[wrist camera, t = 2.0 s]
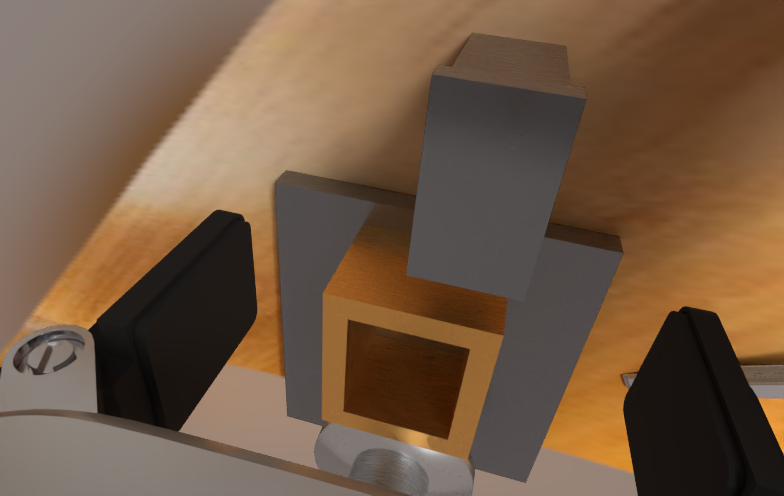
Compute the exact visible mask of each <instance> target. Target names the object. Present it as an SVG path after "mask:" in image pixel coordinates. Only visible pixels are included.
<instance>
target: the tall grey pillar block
mask: <svg viewBox="0 0 784 496" xmlns="http://www.w3.org/2000/svg"><path fill="white" fill-rule="evenodd" d="M585 102H586V94H585V88H584V87H578V86H572V85H570V76H569V68H568V59H567V51H566V46H561V45H554V44H547V43H540V42H533V41H526V40H519V39H513V38H506V37H499V36H492V35H485V34H478V33H472V34H471V36H470V38H469V39H468V41H467V43H466V44H465V46H464V48H463V49H462V51H461V53H460V54H459V56H458V58H457V59H456V61H455V63H454V64H453V66H452V67H451V66H444V65H438V66H437V68H436V69H435V70H434V72H433V73H432V78H431V86H430V93H429V101H428V109H427V117H426V125H425V132H424V140H423V148H422V156H421V164H420V172H419V179H418V187H417V195H416V203H415V211H414V218H413V226H412V234H411V242H410V250H409V258H408V265H407V273H406V275H408V276H412V277H417V278H421V279H425V280H430V281H434V282H439V283H443V284H448V285H452V286H457V287H461V288H465V289H470V290H474V291H479V292H483V293H488V294H492V295H497V296H501V297H505V298H510V299H514V300H519V301H523V302H524V300H525V297H526V293H527V290H528V287H529V284H530V281H531V277H532V274H533V271H534V268H535V264H536V261H537V258H538V255H539V251H540V248H541V245H542V242H543V238H544V235H545V232H546V229H547V225H548V222H549V219H550V216H551V212H552V209H553V206H554V203H555V199H556V196H557V193H558V190H559V186H560V183H561V180H562V177H563V174H564V170H565V167H566V164H567V161H568V157H569V154H570V151H571V148H572V144H573V141H574V138H575V135H576V131H577V128H578V125H579V122H580V118H581V115H582V112H583V109H584V105H585Z"/></svg>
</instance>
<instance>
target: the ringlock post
mask: <svg viewBox="0 0 784 496" xmlns="http://www.w3.org/2000/svg"><path fill="white" fill-rule="evenodd" d="M275 195H276V213H277V232H278V251H279V270H280V288H281V307H282V326H283V345H284V363H285V381H286V401H287V416H289V417H293V418H296V419H300V420H304V421H307V422H310V423H314V424H317V425H321V426H323V427H322V429H321V432H320V434H319V436H318V439H317V441H316V444H315V450H314V454H315V459H316V463H317V466H318V468H319V470H322V471H325V472H329V473H333V474H336V475H340V476H344V477H347V478H351V479H354V480H358V481H362V482H365V483H369V484H372V485H376V486H380V487H383V488H387V489H390V490H394V491H398V492H401V493H405V494H408V495H412V496H472V491H473V483H474V476H475V469H478V470H482V471H485V472H489V473H492V474H496V475H499V476H503V477H506V478H510V479H514V480H517V481H521V482H524V483H526V481H527V478H528V476H529V474H530V471H531V469H532V467H533V464H534V462H535V459H536V457H537V455H538V453H539V450H540V448H541V446H542V443H543V441H544V439H545V436H546V434H547V431H548V429H549V427H550V424H551V422H552V420H553V417H554V415H555V413H556V410H557V408H558V406H559V403H560V401H561V399H562V396H563V394H564V392H565V389H566V387H567V384H568V382H569V380H570V377H571V375H572V373H573V370H574V368H575V366H576V363H577V361H578V359H579V356H580V354H581V352H582V349H583V347H584V345H585V342H586V340H587V338H588V335H589V333H590V330H591V328H592V326H593V323H594V321H595V319H596V316H597V314H598V312H599V309H600V307H601V305H602V302H603V300H604V298H605V295H606V293H607V291H608V288H609V286H610V283H611V281H612V279H613V276H614V274H615V272H616V269H617V267H618V265H619V262H620V260H621V258H622V255H623V249H622V245H621V240H620V237H618V236H613V235H608V234H603V233H597V232H592V231H587V230H582V229H577V228H572V227H567V226H562V225H557V224H552V223H548V225H547V229H546V232H545V235H544V238H543V242H542V245H541V248H540V251H539V255H538V258H537V261H536V264H535V268H534V271H533V274H532V277H531V281H530V284H529V287H528V290H527V293H526V297H525V300H524V302H523V301H519V300H514V299H510V298H505V297H501V296H497V295H492V294H488V293H483V292H479V291H474V290H470V289H465V288H461V287H457V286H452V285H448V284H443V283H439V282H434V281H430V280H425V279H421V278H417V277H412V276H408V275H406V273H407V265H408V258H409V250H410V242H411V234H412V226H413V218H414V211H415V203H416V196H412V195H407V194H402V193H397V192H392V191H387V190H382V189H377V188H372V187H367V186H362V185H357V184H352V183H347V182H342V181H337V180H332V179H327V178H322V177H317V176H312V175H307V174H302V173H297V172H292V171H287V170H286V171H285V172H284V173H283V174H282V175H281V176H280V177H279V178H278V179H277V180H276V181H275Z"/></svg>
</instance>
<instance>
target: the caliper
mask: <svg viewBox="0 0 784 496" xmlns="http://www.w3.org/2000/svg"><path fill="white" fill-rule="evenodd" d="M740 366H741V368H742V370H743V372H744V375H745V377H746V379H747V381H748V383H749V386H750V387H751V388H752V389H753V391H754V392H755V394H756V395H757V398H784V364H760V365H740ZM636 375H637V373H625V374H623V375H622V376H623V379H624V381H625V384H626V386H627V388H630V387H631V385H632V383H633V381H634V379H635V377H636Z"/></svg>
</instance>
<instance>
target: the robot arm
mask: <svg viewBox="0 0 784 496" xmlns="http://www.w3.org/2000/svg"><path fill="white" fill-rule="evenodd" d="M256 315H257V299H256V286H255V274H254V262H253V250H252V237H251V227H250V224H249V223H248V222H245V220H244V217H243V216H242V215H241V214H237V213H232V212H227V211H223V210H216V211H214V212H213V213H212V214H211V215H210V216H209V217H207V218H206V219H205V220H204V221H203V222H202V223H201V224H200V225H199V226H198V227H197V228H196V229H194V230H193V231H192V232H191V233H190V234H189V235H188V236H187V237H186V238H185V239H184V240H183V241H181V242H180V243H179V244H178V245H177V246H176V247H175V248H174V249H173V250H172V251H171V252H170V253H168V254H167V255H166V256H165V257H164V258H163V259H162V260H161V261H160V262H159V263H158V264H157V265H155V266H154V267H153V268H152V269H151V270H150V271H149V272H148V273H147V274H146V275H145V276H144V277H142V278H141V279H140V280H139V281H138V282H137V283H136V284H135V285H134V286H133V287H132V288H131V289H129V290H128V291H127V292H126V293H125V294H124V295H123V296H122V297H121V298H120V299H119V300H118V301H116V302H115V303H114V304H113V305H112V306H111V307H110V308H109V309H108V310H107V311H106V312H105V313H103V314H102V315H101V316H100V317H99V318H98V319H97V322H96V323H95V324H94V325H93V326H92V327H91V328H90V329H89V330H87V329H85V328H82V327H79V326H77V325H57V326H50V327H47V328H44V329H40V330H37V331H35V332H33V333H31V334H29V335H27V336H25V337H23V338H22V339H21V340H19V341H18V342H17V343H15V344H14V345H13V346H12V347H11V348H10V350H9V351H8V352H7V353H6V355H5V357H4V360H3V363H2V367H0V496H412V495H408V494H405V493H401V492H398V491H394V490H390V489H387V488H383V487H380V486H376V485H372V484H369V483H365V482H362V481H358V480H354V479H351V478H347V477H344V476H340V475H336V474H333V473H329V472H325V471H322V470H318V469H315V468H311V467H307V466H304V465H300V464H296V463H292V462H289V461H285V460H282V459H278V458H274V457H271V456H267V455H263V454H260V453H256V452H252V451H248V450H245V449H241V448H237V447H233V446H230V445H226V444H223V443H219V442H215V441H211V440H208V439H204V438H200V437H196V436H193V435H189V434H185V433H181V432H178V431H179V430H180V429H181V428H182V426H183V424H184V423H185V422H186V420H187V419H188V417H189V416H190V415H191V413H192V412H193V410H194V409H195V407H196V406H197V404H198V403H199V401H200V400H201V398H202V397H203V396H204V394H205V393H206V391H207V390H208V388H209V387H210V386H211V384H212V383H213V381H214V380H215V378H216V377H217V375H218V374H219V373H220V371H221V370H222V368H223V367H224V365H225V364H226V362H227V361H228V360H229V358H230V357H231V355H232V354H233V352H234V351H235V349H236V348H237V347H238V345H239V344H240V342H241V341H242V339H243V338H244V336H245V335H246V334H247V332H248V331H249V329H250V328H251V326H252V325H253V323H254V321H255V319H256ZM623 411H624V418H625V424H626V430H627V435H628V441H629V447H630V453H631V458H632V464H633V470H634V476H635V481H636V487H637V492H638V496H784V455H783V453H782V450H781V448H780V446H779V444H778V442H777V439H776V437H775V435H774V433H773V431H772V428H771V426H770V424H769V422H768V420H767V417H766V415H765V413H764V411H763V409H762V406H761V404H760V402H759V400H758V398H757V395H756V394H755V392H754V391H753V389H752V388H751V387H750V386H749V383H748V381H747V379H746V377H745V375H744V372H743V370H742V368H741V366H740V363H739V361H738V359H737V357H736V355H735V352H734V350H733V348H732V346H731V343H730V341H729V339H728V337H727V335H726V332H725V330H724V328H723V326H722V323H721V321H720V319H719V317H718V315H717V314H716V313H714V312H711V311H706V310H701V309H696V308H691V307H687V306H685V307H682V308H681V309H680V310H679V311H678V312H676V311H671V312H670V313H669V315H668V316H667V318H666V320H665V322H664V324H663V326H662V328H661V330H660V331H659V333H658V335H657V337H656V339H655V341H654V343H653V345H652V347H651V349H650V350H649V352H648V354H647V356H646V358H645V360H644V362H643V364H642V366H641V368H640V370H639V371H638V373H637V375H636V377H635V379H634V381H633V383H632V385H631V387H630V389H629V390H628V392H627V394H626V397H625V400H624V406H623Z"/></svg>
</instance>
